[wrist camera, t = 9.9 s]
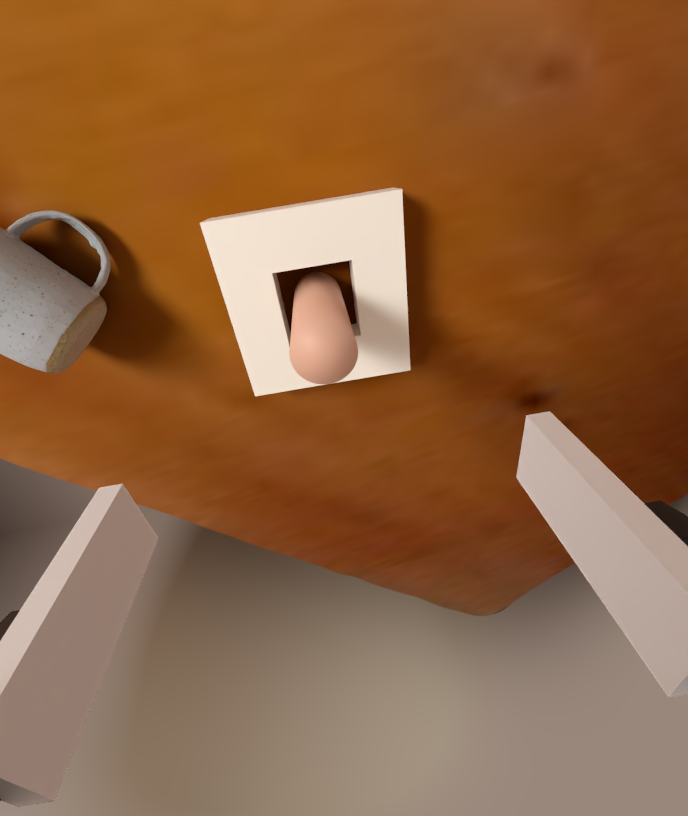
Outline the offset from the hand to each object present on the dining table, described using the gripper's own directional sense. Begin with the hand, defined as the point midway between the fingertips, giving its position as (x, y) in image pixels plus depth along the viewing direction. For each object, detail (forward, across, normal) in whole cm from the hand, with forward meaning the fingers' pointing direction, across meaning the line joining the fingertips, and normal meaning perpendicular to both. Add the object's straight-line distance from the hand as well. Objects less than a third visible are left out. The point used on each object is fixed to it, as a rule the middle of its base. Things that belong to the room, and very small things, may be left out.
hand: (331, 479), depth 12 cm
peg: (+23, 0, 0) cm, 23 cm away
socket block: (+23, 0, 0) cm, 23 cm away
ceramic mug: (+23, -20, +4) cm, 31 cm away
